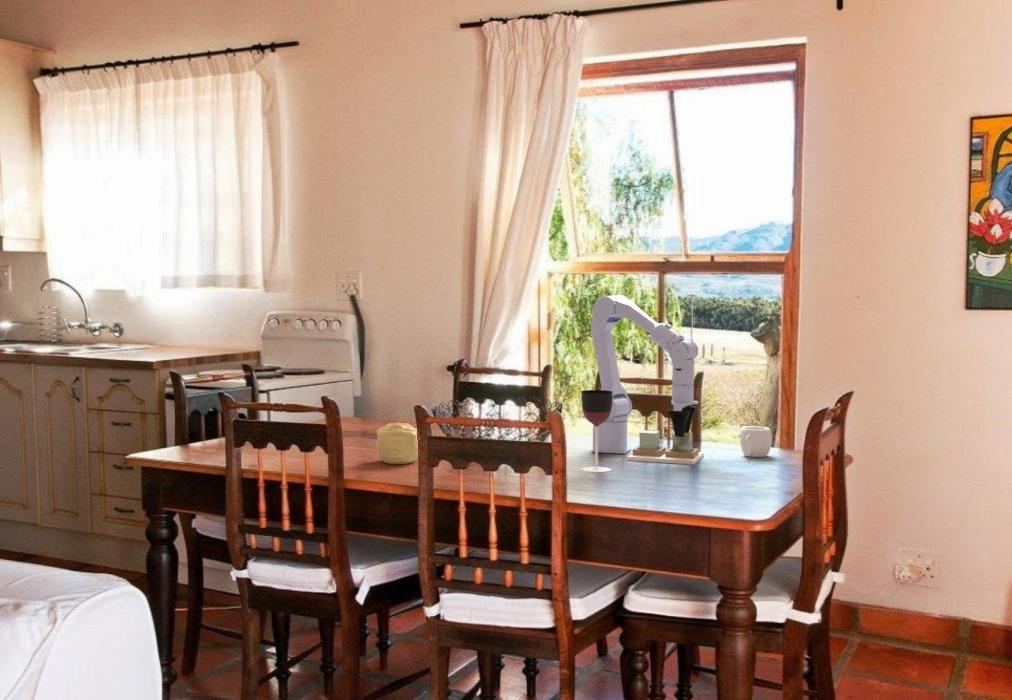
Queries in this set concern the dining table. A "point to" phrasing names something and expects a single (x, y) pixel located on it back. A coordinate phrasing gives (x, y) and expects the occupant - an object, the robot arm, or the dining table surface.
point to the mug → (755, 441)
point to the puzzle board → (661, 451)
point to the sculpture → (397, 443)
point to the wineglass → (596, 416)
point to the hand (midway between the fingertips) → (682, 434)
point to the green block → (682, 443)
